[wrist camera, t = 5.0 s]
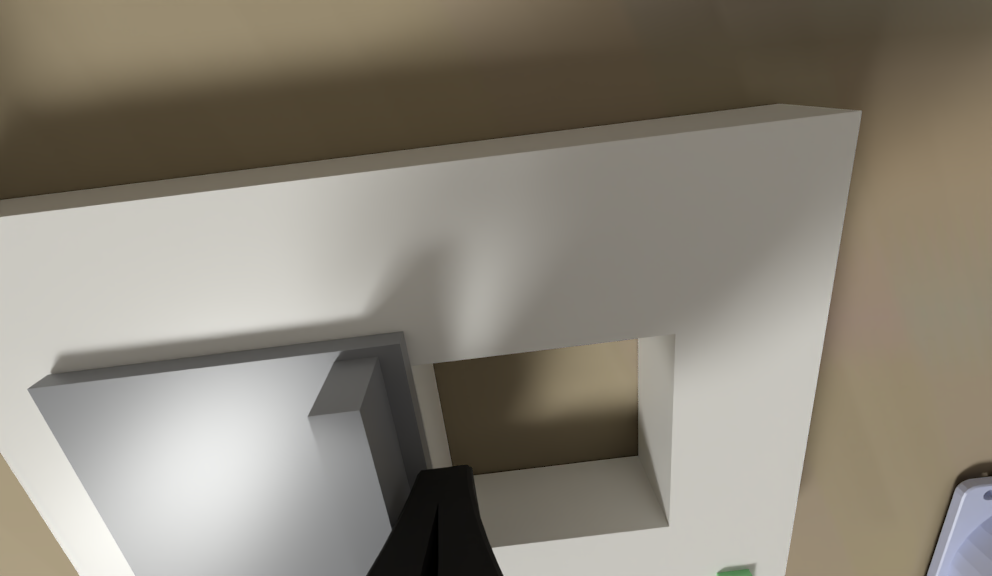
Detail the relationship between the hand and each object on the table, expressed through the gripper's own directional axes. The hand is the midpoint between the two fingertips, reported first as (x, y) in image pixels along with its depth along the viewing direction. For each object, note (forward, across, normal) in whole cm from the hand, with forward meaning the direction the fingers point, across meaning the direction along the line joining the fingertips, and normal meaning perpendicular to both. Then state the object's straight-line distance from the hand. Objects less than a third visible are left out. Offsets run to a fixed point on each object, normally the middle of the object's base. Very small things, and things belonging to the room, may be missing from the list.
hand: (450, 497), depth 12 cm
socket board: (+4, +1, 0) cm, 4 cm away
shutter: (+1, +5, 0) cm, 5 cm away
